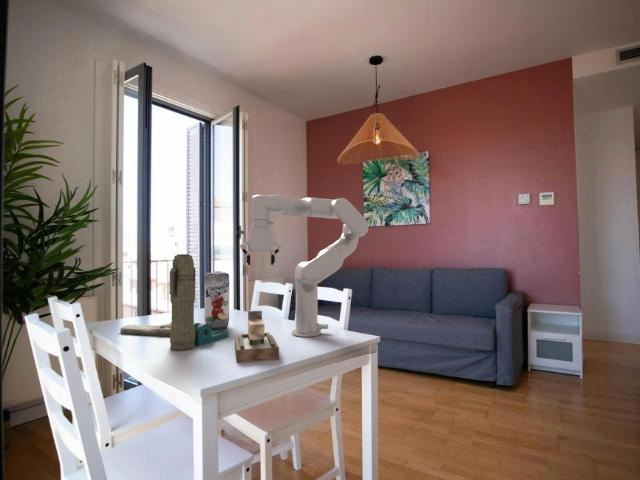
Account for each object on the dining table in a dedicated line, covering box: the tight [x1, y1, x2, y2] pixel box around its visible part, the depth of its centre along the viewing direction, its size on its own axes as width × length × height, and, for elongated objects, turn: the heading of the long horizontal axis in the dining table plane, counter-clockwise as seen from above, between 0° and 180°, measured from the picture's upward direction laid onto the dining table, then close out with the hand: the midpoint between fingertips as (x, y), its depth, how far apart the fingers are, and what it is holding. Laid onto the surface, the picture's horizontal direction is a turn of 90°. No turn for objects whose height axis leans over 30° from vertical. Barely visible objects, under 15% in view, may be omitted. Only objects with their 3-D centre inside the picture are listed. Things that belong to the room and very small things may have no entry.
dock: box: [234, 332, 280, 363], centre depth 133 cm, size 14×18×5 cm
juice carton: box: [204, 269, 230, 331], centre depth 173 cm, size 9×10×27 cm
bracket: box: [194, 321, 229, 347], centre depth 152 cm, size 18×7×8 cm, turn 150°
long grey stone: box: [119, 322, 172, 337], centre depth 162 cm, size 35×5×10 cm
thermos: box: [169, 253, 196, 352], centre depth 140 cm, size 9×12×35 cm
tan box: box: [247, 310, 265, 344], centre depth 133 cm, size 5×10×10 cm, turn 14°
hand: (260, 264), depth 157 cm, fingers open, 9 cm apart
